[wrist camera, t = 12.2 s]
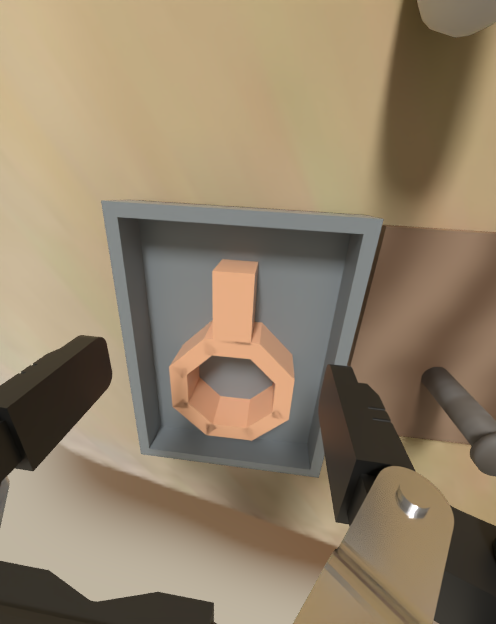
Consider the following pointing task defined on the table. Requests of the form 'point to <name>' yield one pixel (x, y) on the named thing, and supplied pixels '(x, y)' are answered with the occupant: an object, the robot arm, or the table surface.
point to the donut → (457, 15)
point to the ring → (238, 344)
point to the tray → (269, 310)
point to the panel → (433, 336)
